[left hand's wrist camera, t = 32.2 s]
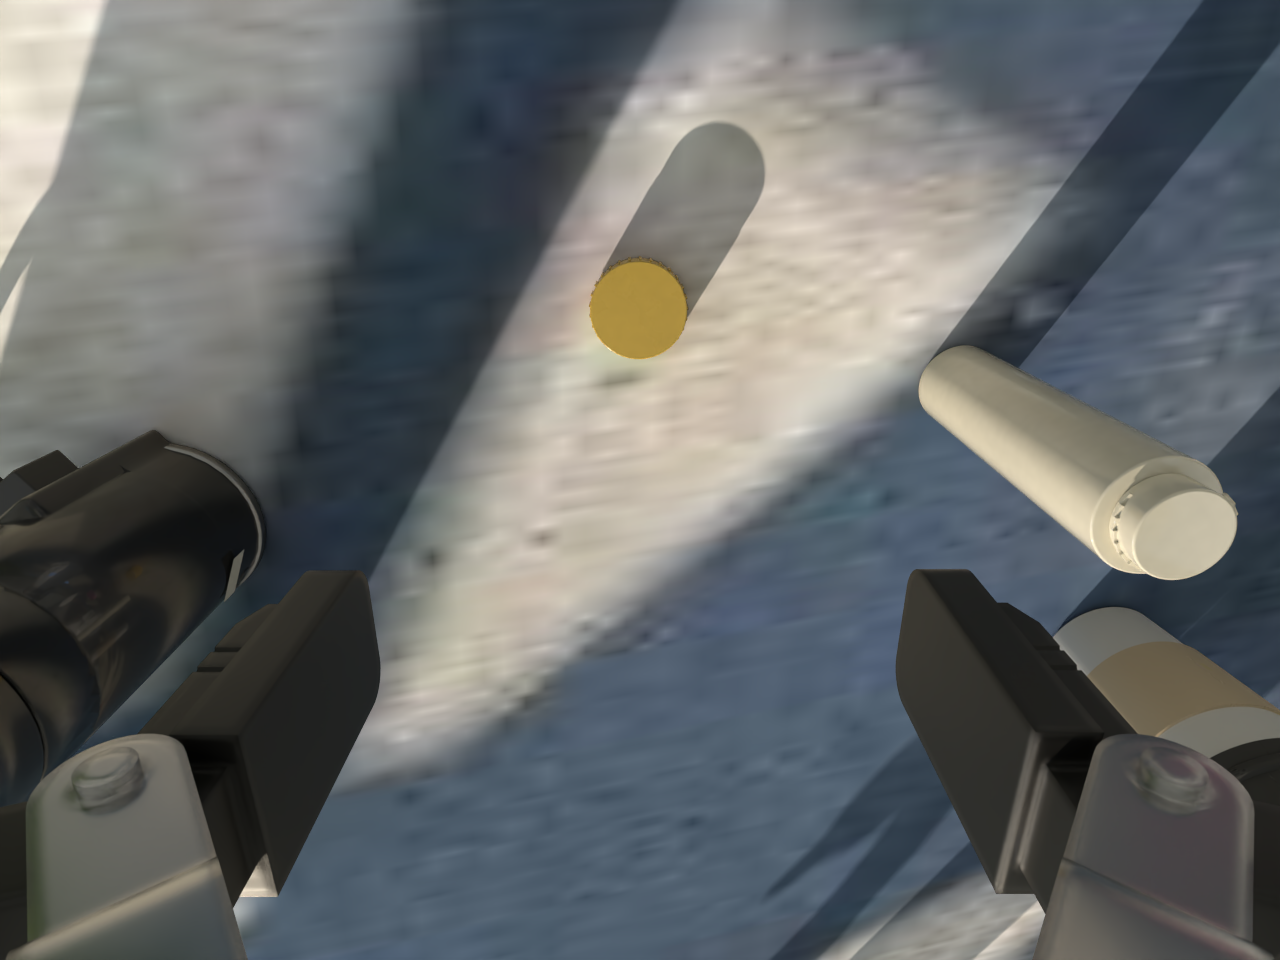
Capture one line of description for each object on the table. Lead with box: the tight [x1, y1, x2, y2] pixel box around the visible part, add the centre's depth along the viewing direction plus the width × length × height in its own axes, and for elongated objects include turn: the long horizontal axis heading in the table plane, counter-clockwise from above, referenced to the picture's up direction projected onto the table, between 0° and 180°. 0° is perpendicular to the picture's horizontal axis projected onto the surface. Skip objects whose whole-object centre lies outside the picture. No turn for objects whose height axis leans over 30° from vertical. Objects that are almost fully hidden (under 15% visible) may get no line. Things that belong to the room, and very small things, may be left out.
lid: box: [589, 256, 688, 359], centre depth 38 cm, size 5×5×2 cm
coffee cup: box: [1053, 607, 1280, 806], centre depth 39 cm, size 9×9×15 cm
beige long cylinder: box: [919, 345, 1238, 580], centre depth 32 cm, size 4×4×18 cm
